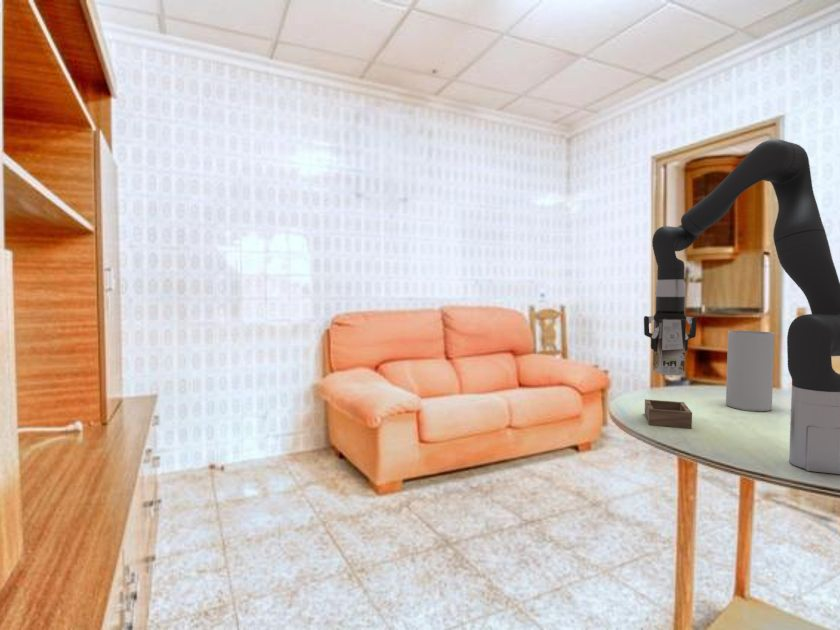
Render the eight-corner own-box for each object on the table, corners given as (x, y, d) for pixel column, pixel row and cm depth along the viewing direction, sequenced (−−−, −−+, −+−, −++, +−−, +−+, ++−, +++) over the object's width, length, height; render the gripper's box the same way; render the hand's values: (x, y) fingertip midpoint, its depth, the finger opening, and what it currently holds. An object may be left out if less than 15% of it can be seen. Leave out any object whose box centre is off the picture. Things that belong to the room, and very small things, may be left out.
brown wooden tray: (691, 428, 132) (692, 412, 132) (648, 424, 136) (649, 409, 136) (683, 416, 145) (683, 402, 145) (644, 413, 149) (644, 399, 149)
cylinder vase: (726, 409, 155) (728, 332, 154) (725, 401, 166) (727, 330, 165) (774, 414, 149) (776, 334, 147) (769, 405, 159) (771, 331, 158)
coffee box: (685, 375, 135) (686, 319, 134) (661, 375, 136) (662, 319, 135) (675, 370, 144) (676, 317, 143) (652, 370, 145) (653, 317, 144)
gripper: (644, 295, 138) (643, 352, 139) (700, 295, 133) (699, 354, 134) (642, 295, 145) (640, 349, 146) (695, 295, 140) (694, 351, 141)
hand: (668, 351), depth 140 cm, fingers closed on coffee box, 7 cm apart
